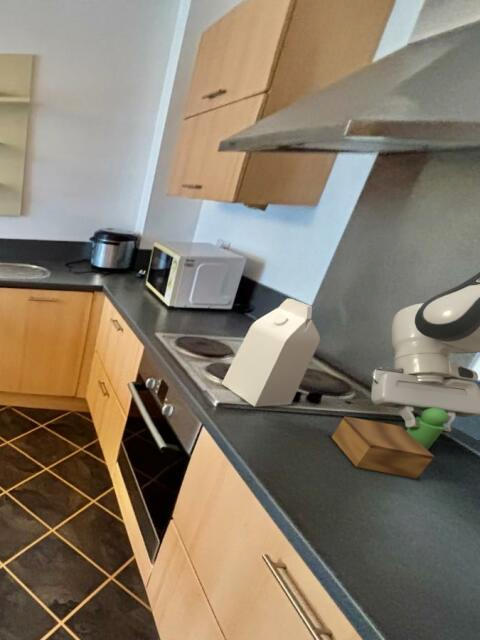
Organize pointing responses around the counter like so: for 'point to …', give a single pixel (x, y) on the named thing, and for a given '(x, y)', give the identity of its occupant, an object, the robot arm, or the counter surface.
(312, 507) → the counter surface
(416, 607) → the counter surface
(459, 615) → the counter surface
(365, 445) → the oak block
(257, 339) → the milk
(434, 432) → the toy
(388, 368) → the robot arm
